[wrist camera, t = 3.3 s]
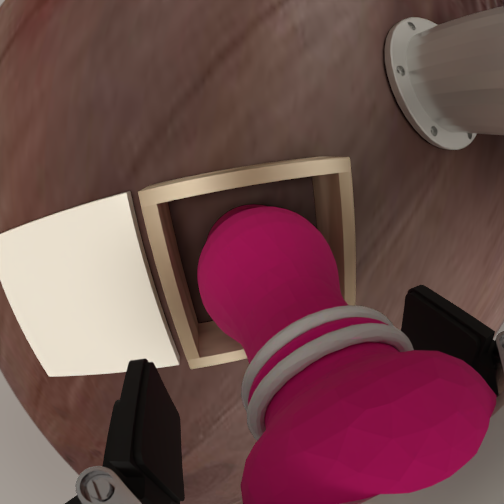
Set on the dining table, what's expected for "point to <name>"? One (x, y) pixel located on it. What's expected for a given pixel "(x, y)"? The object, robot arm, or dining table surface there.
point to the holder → (157, 195)
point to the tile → (86, 290)
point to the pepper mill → (330, 373)
